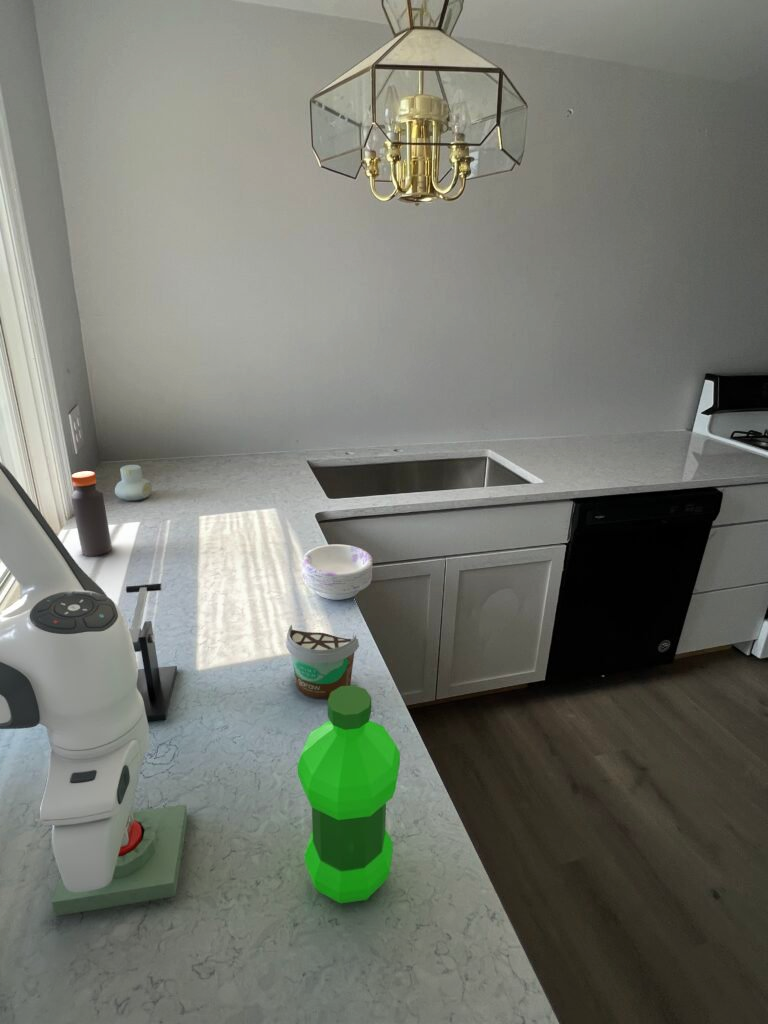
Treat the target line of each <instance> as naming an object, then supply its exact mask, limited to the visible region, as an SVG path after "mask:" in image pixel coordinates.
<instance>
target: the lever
mask: <svg viewBox="0 0 768 1024" xmlns="http://www.w3.org/2000/svg"><path fill="white" fill-rule="evenodd" d="M162 589H163V584H162V583H147V584H145V583H144V584H130V585H126V587H125V592H126V593H127V594H130V593H132V594H133V593H138V595H137V600H136V604H135V608H134V612H133V617H132V620H131V621H132V622H131V626H130V627H128V628H129V631H130V634H131V638H132V642H133V646H134V650H135V653H138V652H141V648H140V641H139V636H140V633H141V630H142V627H141V626H142V621H143V618H144V617H143V616H144V613H145V612H144V611H145V607H146V602H147V598H148V593H149V592H158V591H159V592H160V591H162Z"/></svg>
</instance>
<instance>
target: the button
mask: <svg viewBox="0 0 768 1024" xmlns="http://www.w3.org/2000/svg"><path fill="white" fill-rule="evenodd" d="M142 840H143V836H142V831H141V827H140V825H139V824H138V823H137V822H136V821H134V822H133V825H132V829H131V833H130V837H129V841H128V844H127V845H126V846H122V847H120V851H119V855H118V856H124V855H125V854H127V853H129V852H131V851H132V850H134V849H135V848H136V847H137V846H138V845H139V843H140V842H141V841H142Z"/></svg>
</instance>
